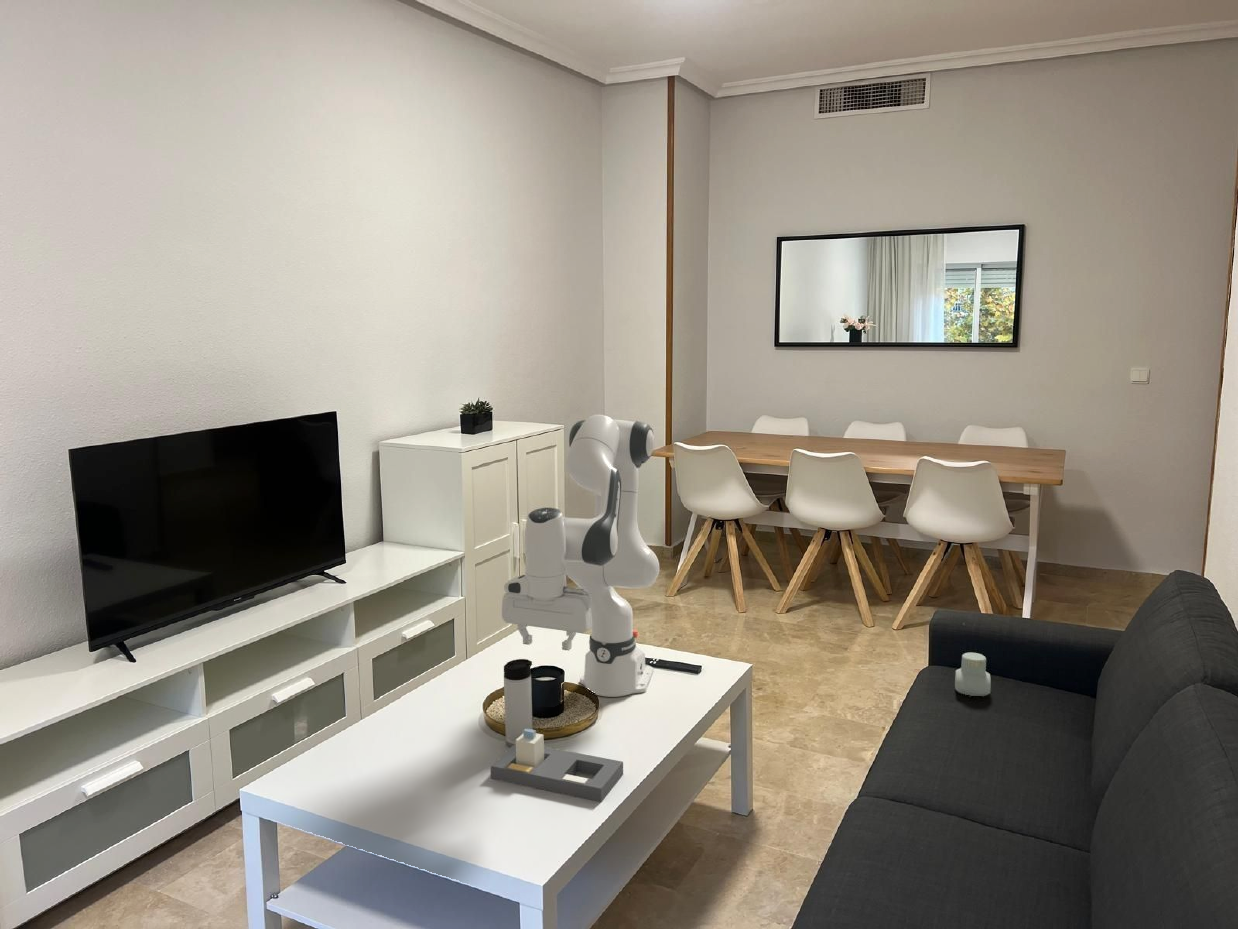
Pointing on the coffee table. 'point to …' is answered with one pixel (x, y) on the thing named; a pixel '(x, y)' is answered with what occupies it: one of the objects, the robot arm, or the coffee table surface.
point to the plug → (530, 748)
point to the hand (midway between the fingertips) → (547, 646)
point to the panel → (561, 773)
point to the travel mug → (517, 699)
